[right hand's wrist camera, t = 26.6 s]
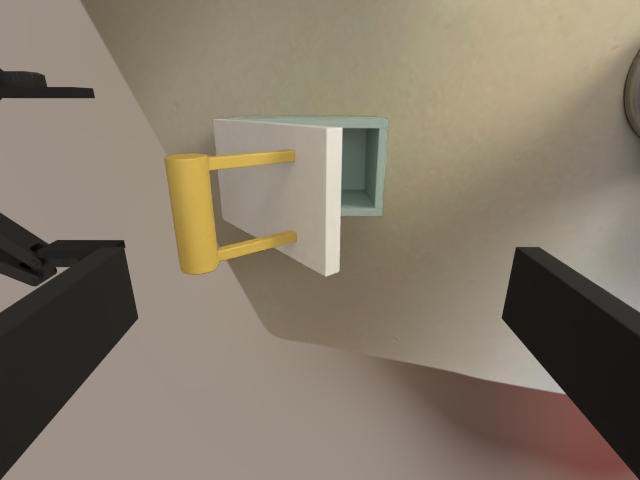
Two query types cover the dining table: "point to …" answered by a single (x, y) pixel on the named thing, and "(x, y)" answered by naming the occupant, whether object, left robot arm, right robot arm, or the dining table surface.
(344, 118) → the chest
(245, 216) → the lid
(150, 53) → the dining table surface
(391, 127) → the dining table surface
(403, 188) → the dining table surface
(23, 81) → the left robot arm
